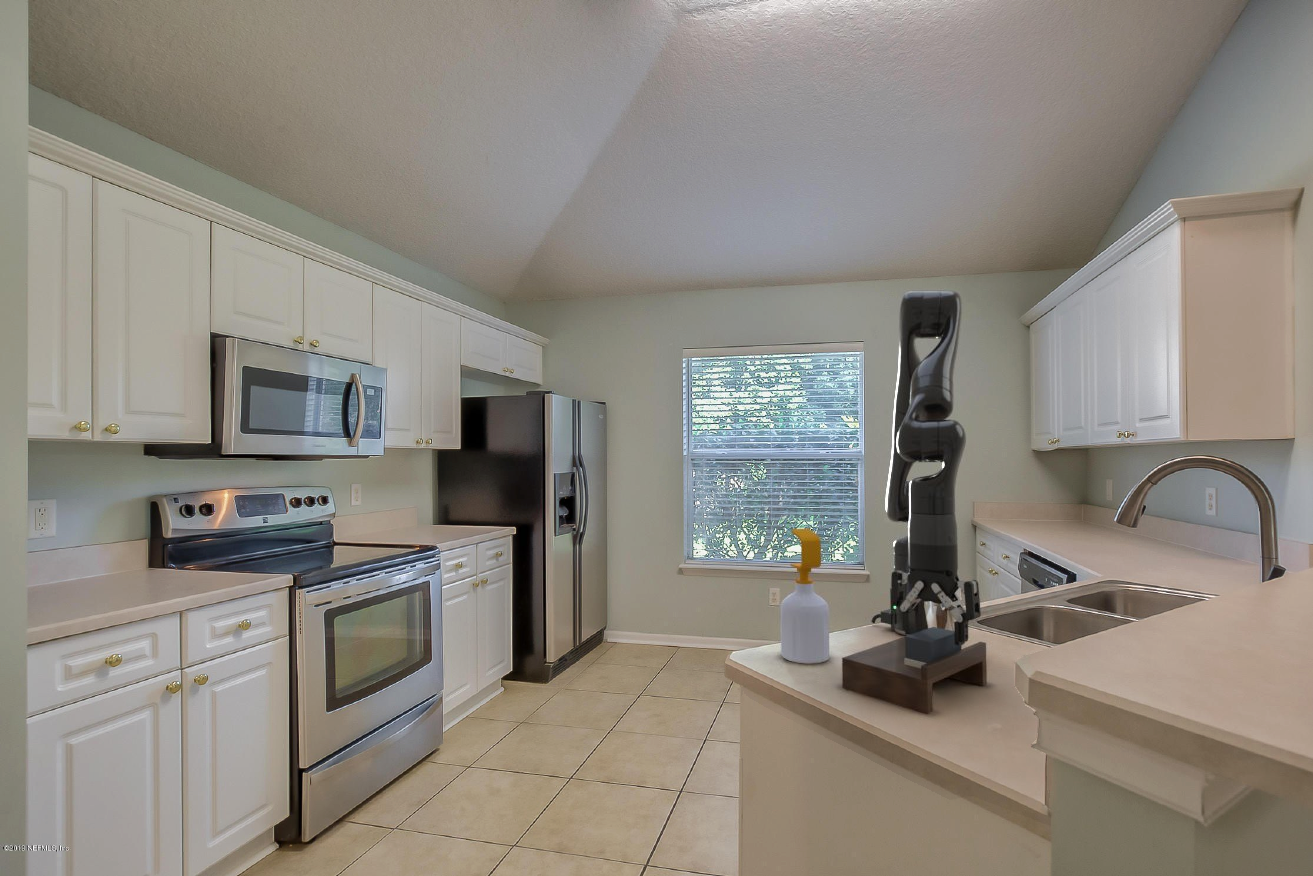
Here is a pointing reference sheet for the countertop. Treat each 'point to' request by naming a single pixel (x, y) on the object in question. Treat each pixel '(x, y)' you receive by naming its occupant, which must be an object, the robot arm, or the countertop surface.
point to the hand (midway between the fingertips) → (934, 639)
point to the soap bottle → (805, 609)
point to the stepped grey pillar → (929, 646)
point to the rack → (909, 673)
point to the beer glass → (940, 614)
